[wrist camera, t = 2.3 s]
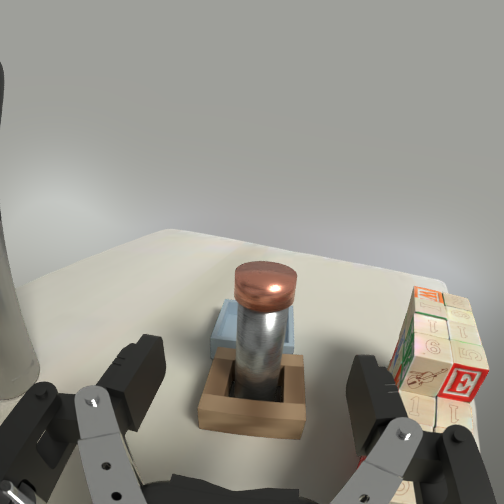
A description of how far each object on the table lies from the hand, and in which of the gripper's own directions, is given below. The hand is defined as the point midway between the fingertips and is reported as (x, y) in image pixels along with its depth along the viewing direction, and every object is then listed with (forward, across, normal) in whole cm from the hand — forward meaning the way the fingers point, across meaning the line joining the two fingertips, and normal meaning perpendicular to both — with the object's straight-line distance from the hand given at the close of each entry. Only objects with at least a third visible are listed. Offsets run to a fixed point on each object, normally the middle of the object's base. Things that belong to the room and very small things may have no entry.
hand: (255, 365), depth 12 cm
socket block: (+12, 0, +15) cm, 19 cm away
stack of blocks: (+5, -13, +15) cm, 21 cm away
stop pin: (+12, 0, +15) cm, 19 cm away
